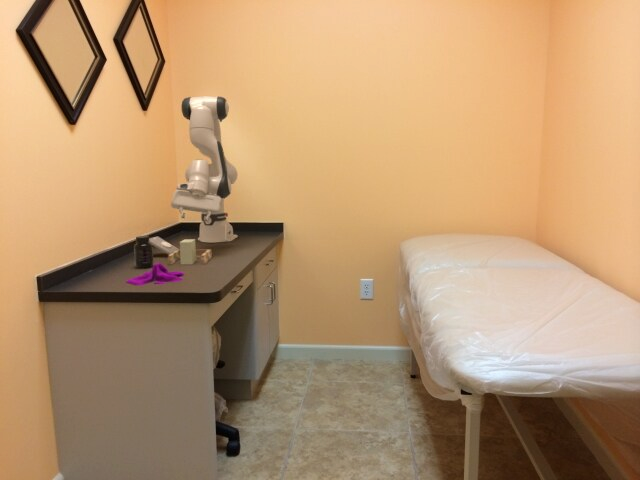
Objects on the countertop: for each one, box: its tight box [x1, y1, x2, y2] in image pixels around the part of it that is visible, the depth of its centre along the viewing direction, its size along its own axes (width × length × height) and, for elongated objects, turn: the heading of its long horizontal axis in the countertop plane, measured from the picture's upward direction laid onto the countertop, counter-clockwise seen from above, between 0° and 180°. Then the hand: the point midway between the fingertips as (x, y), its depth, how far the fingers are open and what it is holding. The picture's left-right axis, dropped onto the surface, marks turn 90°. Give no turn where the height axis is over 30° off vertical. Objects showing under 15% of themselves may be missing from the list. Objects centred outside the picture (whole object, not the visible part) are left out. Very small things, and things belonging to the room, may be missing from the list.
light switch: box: [149, 236, 180, 256], centre depth 218 cm, size 8×6×14 cm
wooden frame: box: [167, 248, 213, 266], centre depth 206 cm, size 14×14×4 cm
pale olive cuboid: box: [179, 238, 197, 265], centre depth 202 cm, size 7×4×9 cm, turn 0°
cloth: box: [125, 262, 185, 286], centre depth 175 cm, size 22×19×6 cm
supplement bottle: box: [133, 235, 155, 269], centre depth 195 cm, size 7×7×12 cm
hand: (194, 219), depth 209 cm, fingers open, 8 cm apart
